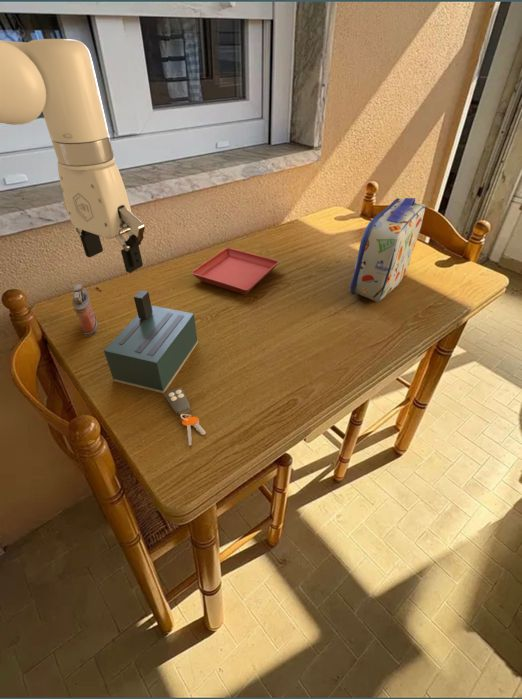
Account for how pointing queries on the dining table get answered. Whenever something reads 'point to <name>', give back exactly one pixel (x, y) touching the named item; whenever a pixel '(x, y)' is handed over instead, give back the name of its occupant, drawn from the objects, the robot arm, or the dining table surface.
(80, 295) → the lighter
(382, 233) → the lunch box
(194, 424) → the key chain
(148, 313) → the slider
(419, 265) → the dining table surface
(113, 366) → the toaster
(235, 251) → the plant saucer
